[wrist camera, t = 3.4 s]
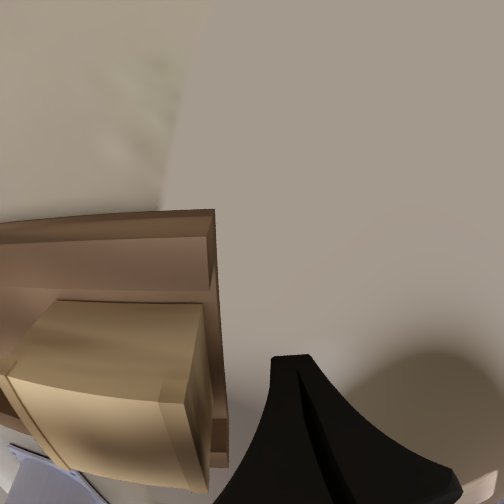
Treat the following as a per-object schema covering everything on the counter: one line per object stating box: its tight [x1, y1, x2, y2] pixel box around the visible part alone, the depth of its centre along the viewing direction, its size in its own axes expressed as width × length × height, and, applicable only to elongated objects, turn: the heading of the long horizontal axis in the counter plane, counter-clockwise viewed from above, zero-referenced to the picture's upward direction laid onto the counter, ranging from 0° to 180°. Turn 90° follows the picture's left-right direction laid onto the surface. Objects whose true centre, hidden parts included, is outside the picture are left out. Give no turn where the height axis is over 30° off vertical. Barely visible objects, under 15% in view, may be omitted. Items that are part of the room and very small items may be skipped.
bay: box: [0, 209, 229, 468], centre depth 11 cm, size 11×16×4 cm
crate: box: [0, 300, 213, 493], centre depth 9 cm, size 5×6×5 cm
